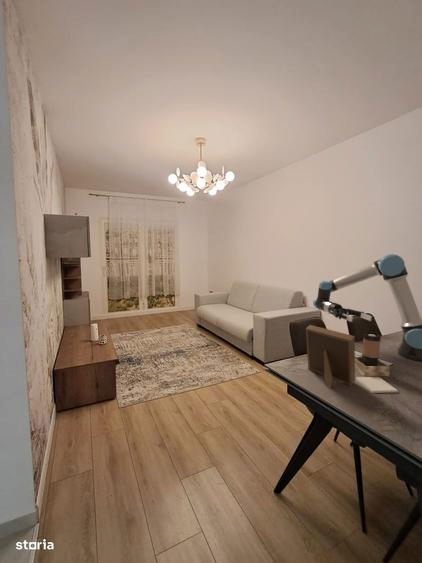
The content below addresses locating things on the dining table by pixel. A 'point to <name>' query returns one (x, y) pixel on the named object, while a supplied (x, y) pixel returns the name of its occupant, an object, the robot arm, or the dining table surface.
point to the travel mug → (370, 349)
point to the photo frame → (331, 354)
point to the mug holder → (371, 368)
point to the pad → (376, 384)
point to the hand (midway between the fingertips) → (361, 319)
